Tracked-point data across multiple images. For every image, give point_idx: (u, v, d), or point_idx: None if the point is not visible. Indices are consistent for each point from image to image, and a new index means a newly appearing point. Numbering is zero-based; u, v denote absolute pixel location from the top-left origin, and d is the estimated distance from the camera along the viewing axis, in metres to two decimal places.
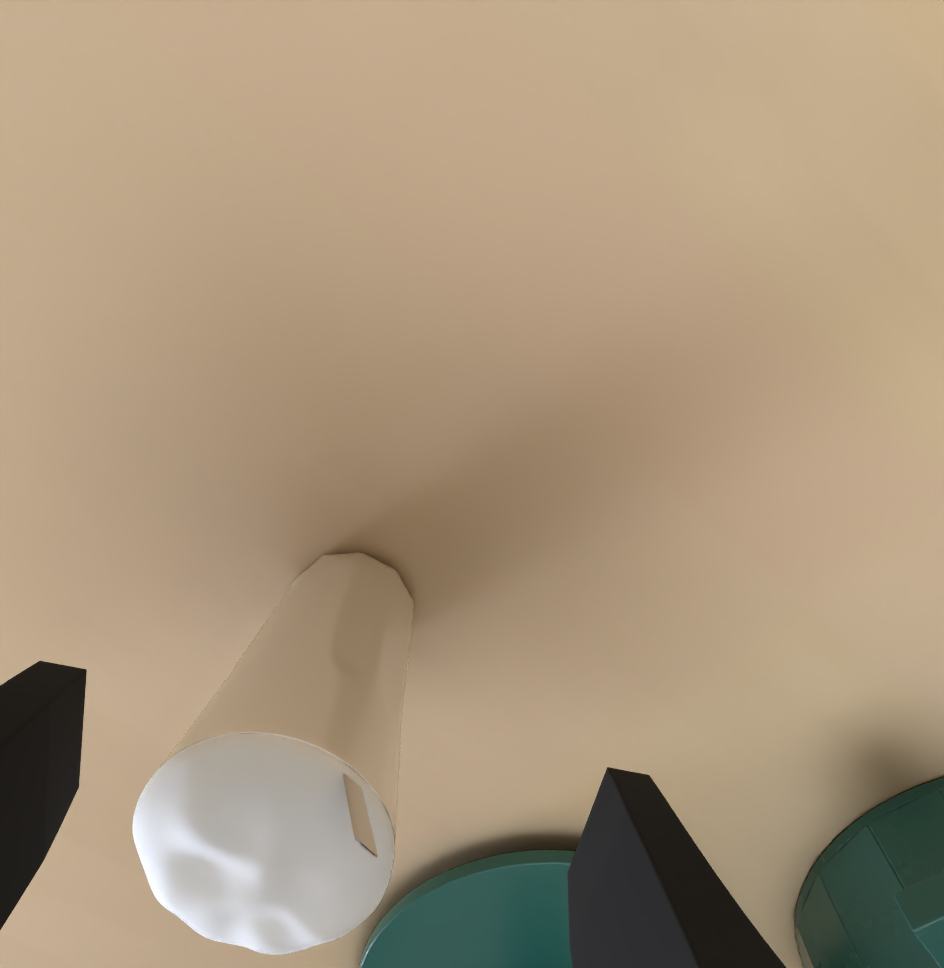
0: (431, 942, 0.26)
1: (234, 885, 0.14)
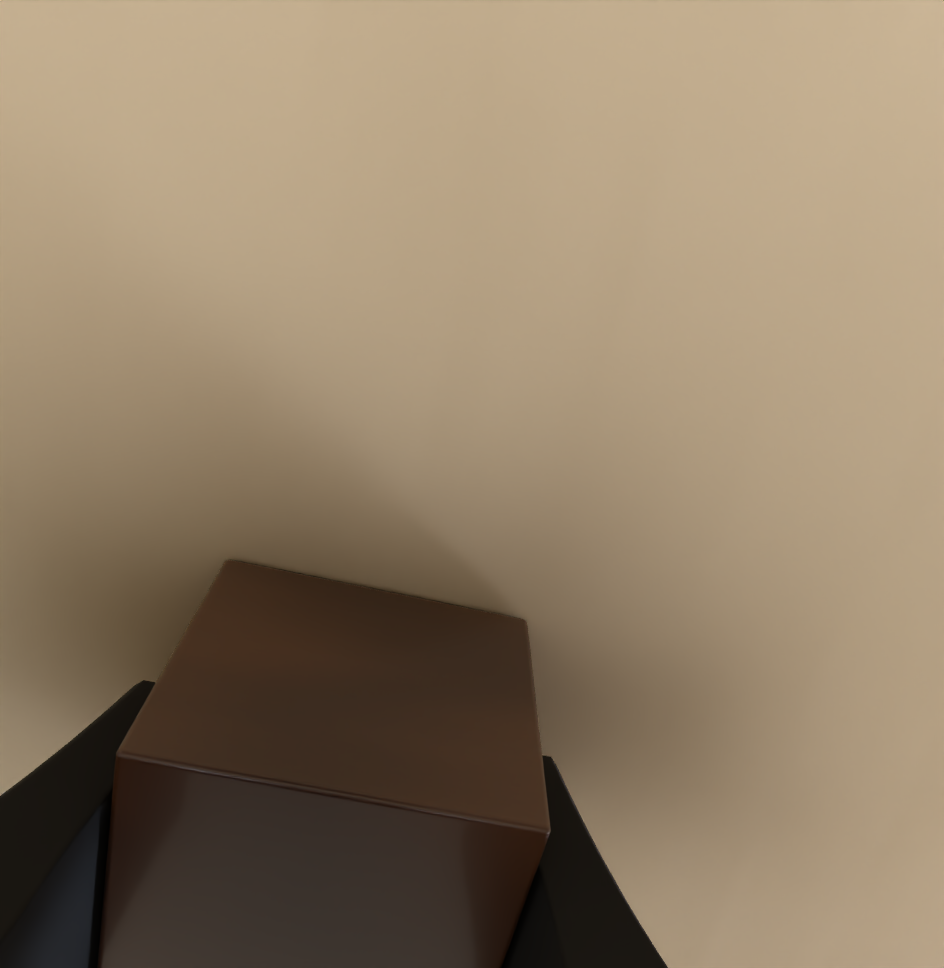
0: None
1: None
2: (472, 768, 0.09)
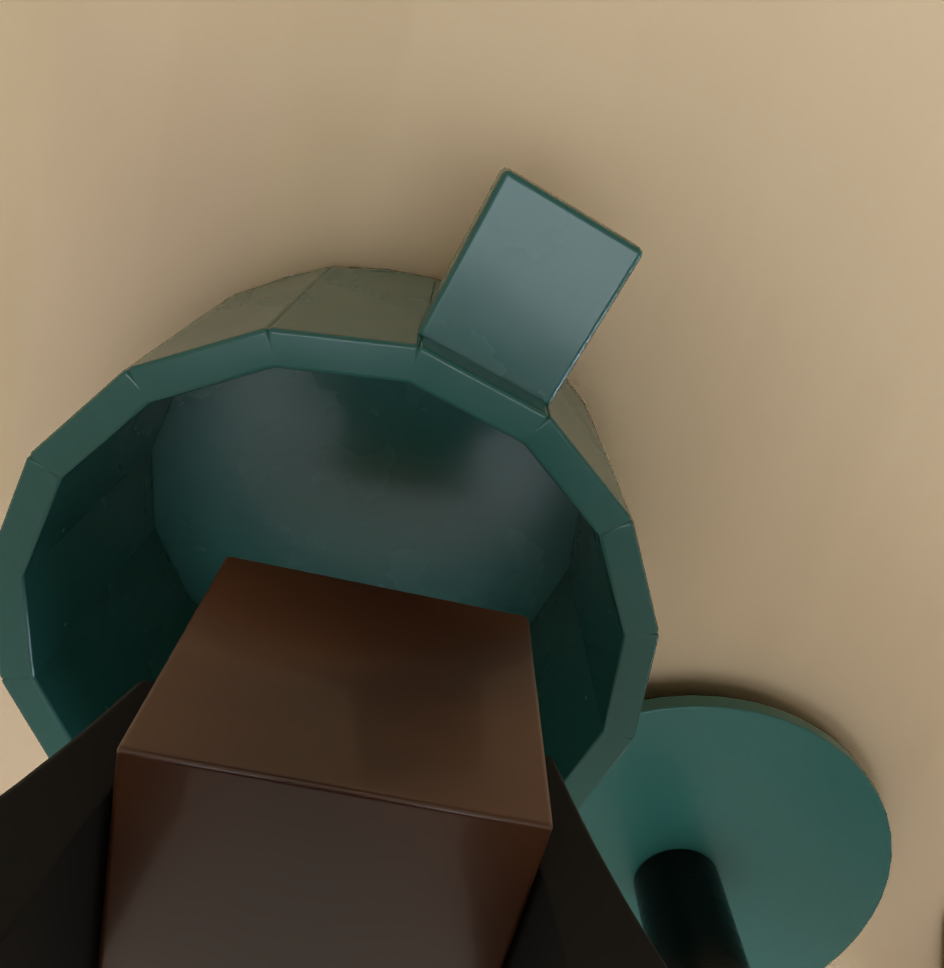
0: None
1: None
2: (474, 765, 0.09)
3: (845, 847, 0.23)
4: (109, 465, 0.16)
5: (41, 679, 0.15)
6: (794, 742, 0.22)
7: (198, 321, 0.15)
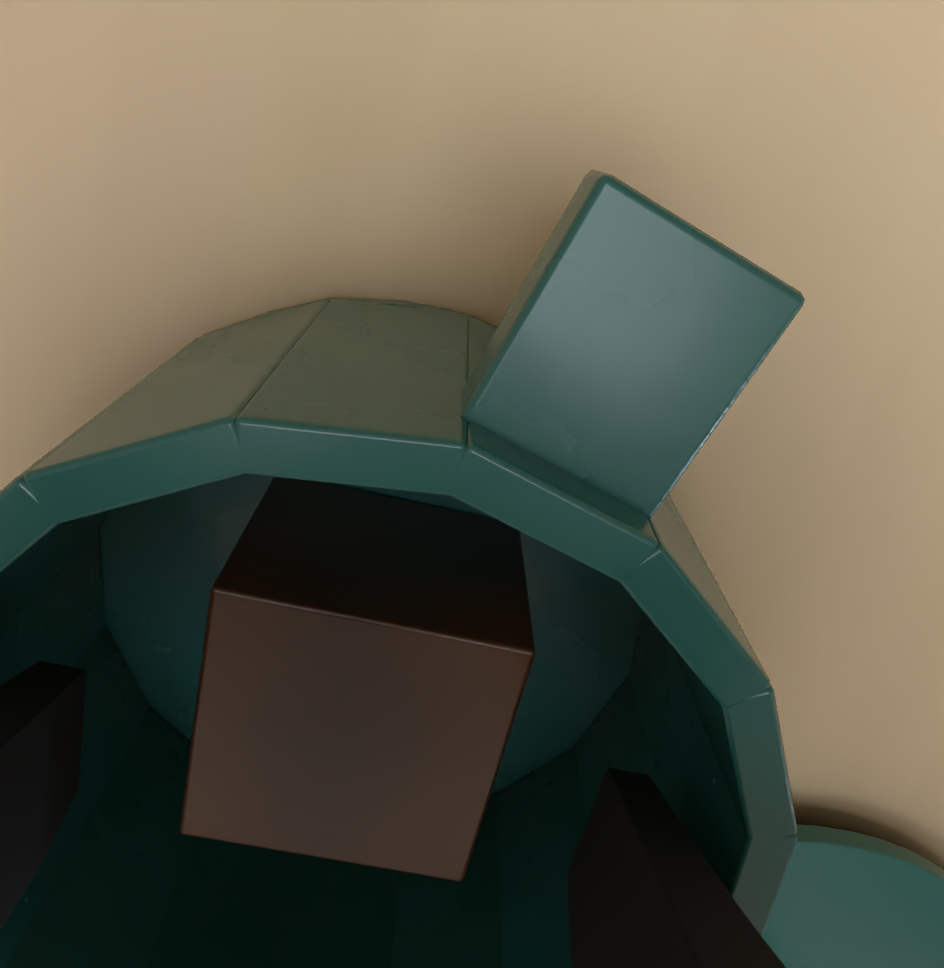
0: None
1: None
2: (476, 613, 0.12)
3: None
4: (27, 575, 0.12)
5: None
6: (904, 882, 0.17)
7: (146, 382, 0.11)
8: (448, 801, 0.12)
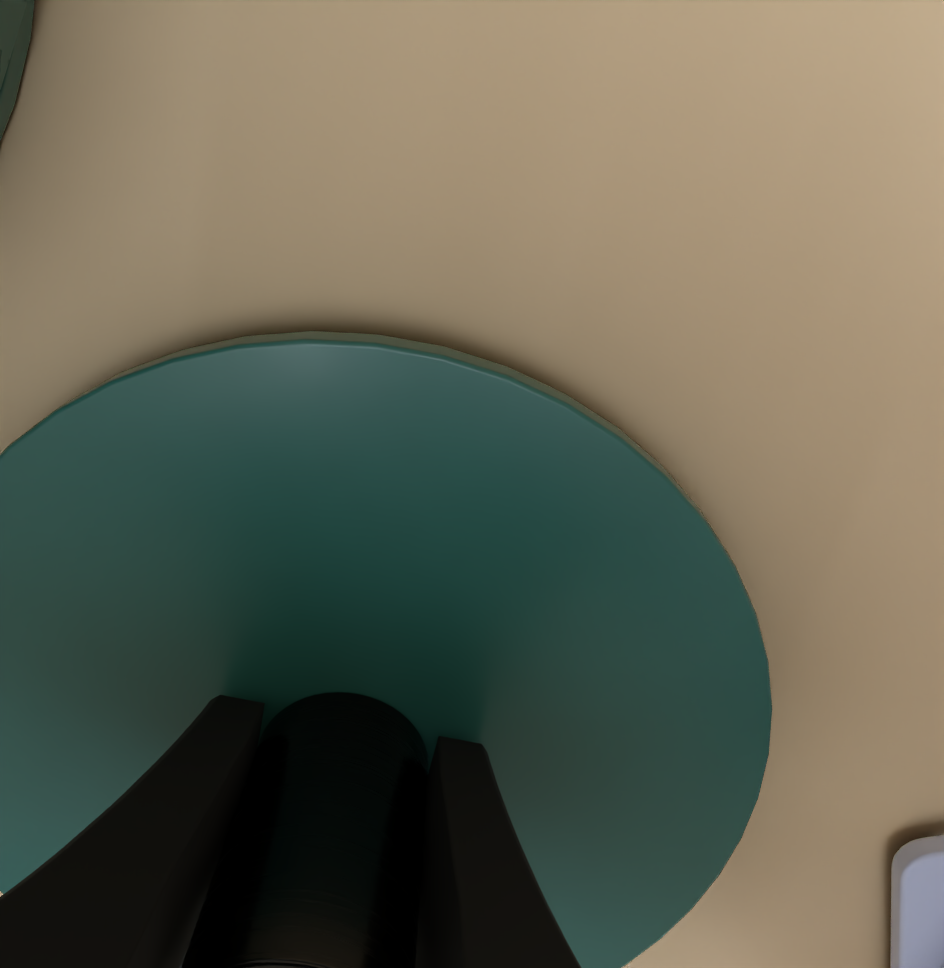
0: None
1: None
2: None
3: (676, 688, 0.11)
4: None
5: None
6: (541, 436, 0.10)
7: None
8: None
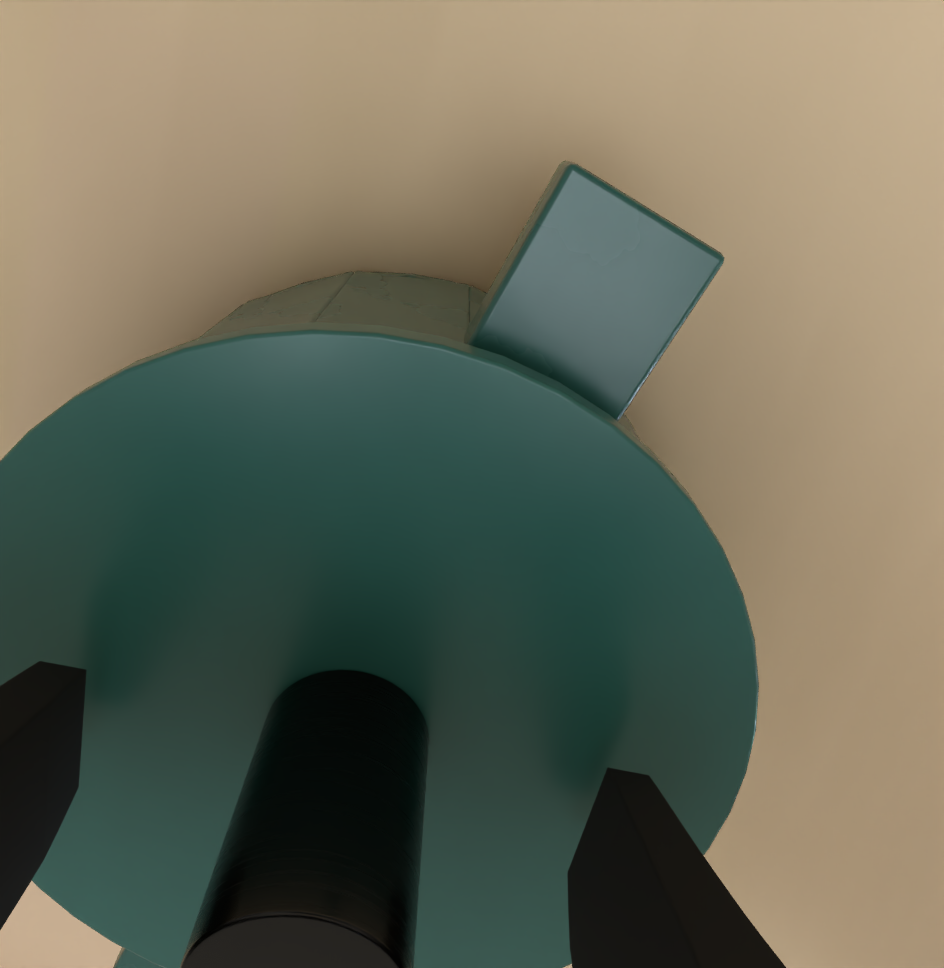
0: None
1: None
2: None
3: (665, 667, 0.12)
4: None
5: None
6: (536, 423, 0.10)
7: (210, 333, 0.13)
8: None
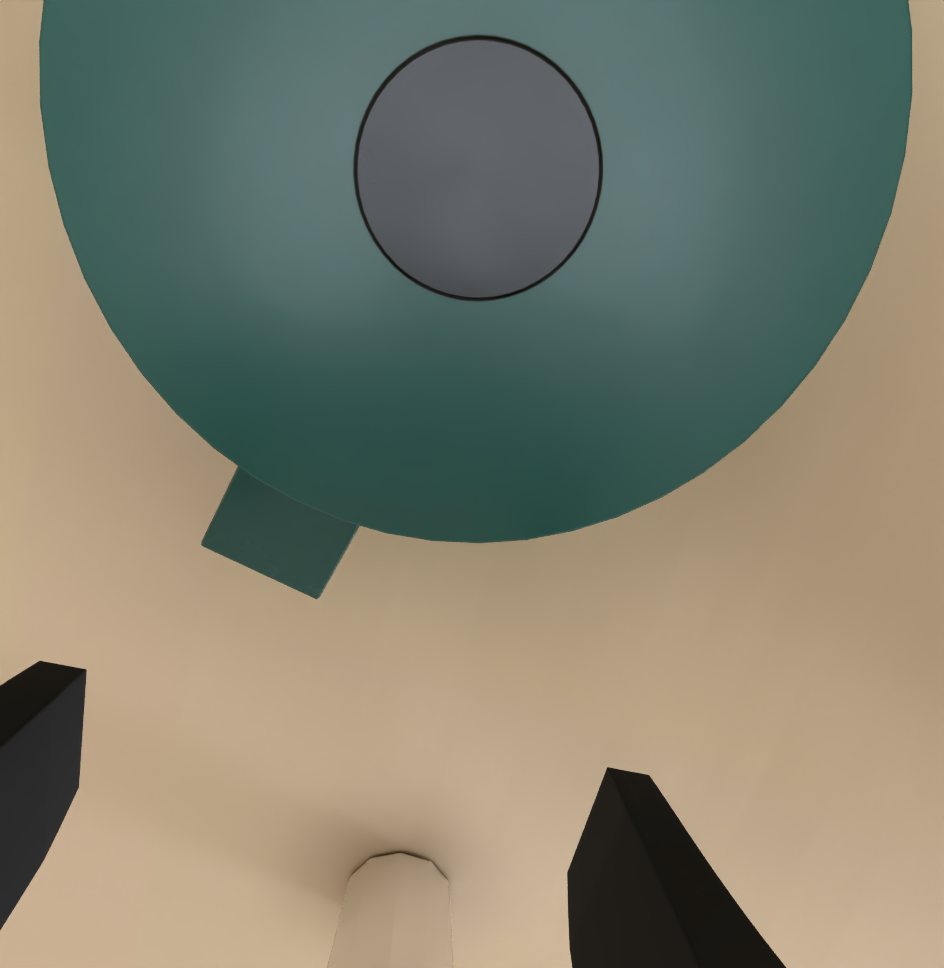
0: (410, 452, 0.13)
1: None
2: None
3: (816, 64, 0.11)
4: None
5: None
6: None
7: None
8: None
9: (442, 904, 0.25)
